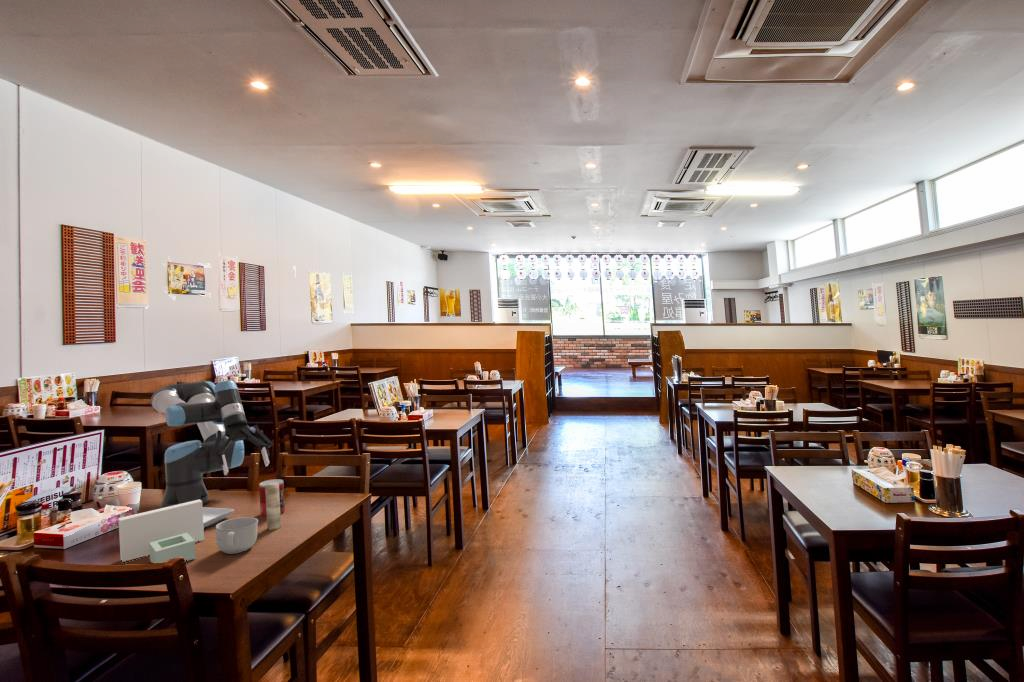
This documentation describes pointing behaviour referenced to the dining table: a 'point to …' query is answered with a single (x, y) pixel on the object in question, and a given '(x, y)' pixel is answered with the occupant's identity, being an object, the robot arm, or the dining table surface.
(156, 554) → the holed block
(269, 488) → the dowel
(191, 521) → the wall
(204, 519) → the salad plate
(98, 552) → the dining table surface
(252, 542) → the teacup
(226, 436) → the robot arm
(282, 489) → the canned food
